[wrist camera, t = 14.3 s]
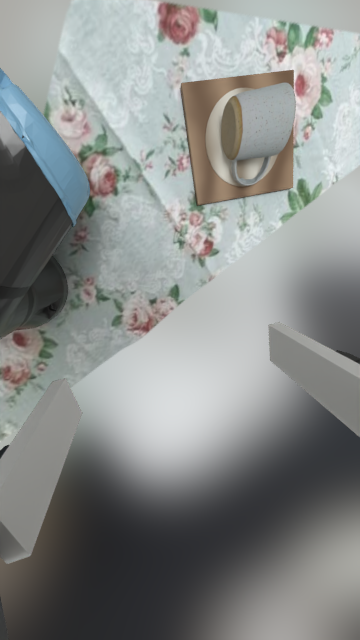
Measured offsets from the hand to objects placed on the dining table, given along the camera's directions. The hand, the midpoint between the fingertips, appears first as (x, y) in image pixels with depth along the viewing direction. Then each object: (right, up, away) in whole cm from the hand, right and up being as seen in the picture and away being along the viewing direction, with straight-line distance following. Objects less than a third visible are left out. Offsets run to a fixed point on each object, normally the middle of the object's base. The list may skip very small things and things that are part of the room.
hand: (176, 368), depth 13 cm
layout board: (+10, +33, +22) cm, 41 cm away
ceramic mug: (+11, +31, +21) cm, 39 cm away
